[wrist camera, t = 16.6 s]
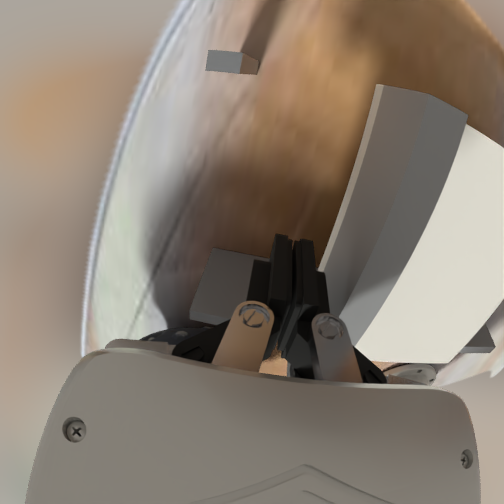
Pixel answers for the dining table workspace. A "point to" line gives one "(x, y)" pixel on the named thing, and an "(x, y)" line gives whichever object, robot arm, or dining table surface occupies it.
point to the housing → (240, 265)
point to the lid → (418, 232)
